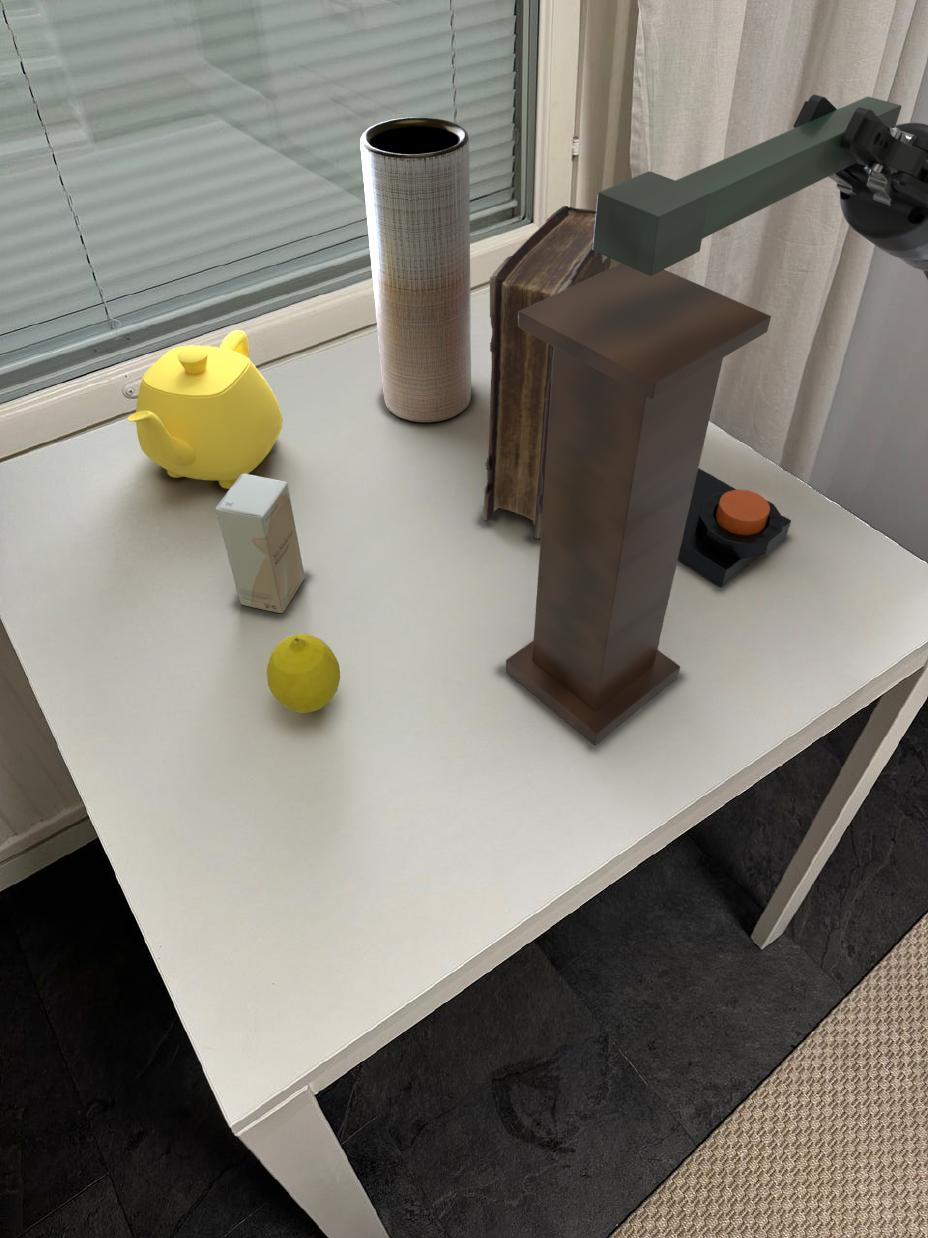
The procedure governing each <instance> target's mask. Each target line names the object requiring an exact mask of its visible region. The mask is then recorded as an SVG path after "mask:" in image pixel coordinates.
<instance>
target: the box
mask: <svg viewBox="0 0 928 1238" xmlns="http://www.w3.org/2000/svg"><path fill="white" fill-rule="evenodd" d="M289 490H290V489H289V484H288V482H287V481H283V480H280V479H279V480H278V479H274V478H269V477H265V476H259V475H253V474H250V473H248V474H242V475H241V476H240V477H239V478H238V480H237V481H236V482H235V483H234V485H233V486H232V487H231V488H230V489H228V491H227V492H226V493H225V495H224V496H223V498H222V499H221V500H220V501H219V503H218V505H217V506H216V507H215V512H216V515H217V520H218V524H219V527H220V532H221V535H222V539H223V543H224V546H225V550H226V554H227V558H228V562H229V565H230V570H231V573H232V577H233V581H234V584H235V588H236V592H237V596H238V600H239V603H240V605H243V606H247V607H250V608H254V609H259V610H263V611H268V612H269V611H270V612H272V613H279V614H282V613H283V614H284V612H285V611H286V609H287V608H288V606H289V605H290V603H291V601H292V600H293V598H294V597H295V595H296V593H297V591H298V590H299V588H300V587H301V585H302V583H303V582H304V580H305V577H306V575H305V571H304V566H303V561H302V555H301V547H300V543H299V538H298V533H297V528H296V523H295V516H294V512H293V506H292V501H291V495H290V491H289Z"/></svg>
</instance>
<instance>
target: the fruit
mask: <svg viewBox="0 0 928 1238" xmlns="http://www.w3.org/2000/svg"><path fill="white" fill-rule="evenodd" d="M340 679H341V671H340V664H339V661H338V658H337V656H336V655H335V653H334V652H333V650H332V649H331V647H330V646H329V645H328V644H327V643H325V642H324V641H323V640H322V639H320V638H318V637H317V636H315V635H310V634H307V633H297V634H296V633H295V634H292V635H289V636H287V637H285V638H283V639H282V640H281V641H280V642H278V643H277V645H276V646H275V647H274V649H273V650H272V652H271V653H270V656H269V659H268V663H267V667H266V680H267V686H268V688H269V690H270V692H271V694H272V696H273V698H275V700H276V701H277V702H278V703H279V704H280V705H282V706H283V707H285V708H286V709H288V710H289V711H292V712H296V713H300V714H308V713H312V712H316V711H319V710H320V709H322V708H324V707H326V706H327V705H328V704H329V703H330V702H331V701H332V700H333V698H334V696H335V694H336V693H337V691H338V689H339V686H340V681H341V680H340Z"/></svg>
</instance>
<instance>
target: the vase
mask: <svg viewBox="0 0 928 1238" xmlns="http://www.w3.org/2000/svg"><path fill="white" fill-rule="evenodd" d="M360 155H361V165H362V176H363V185H364V186H363V187H364V197H365V198H364V199H365V210H366V219H367V220H366V221H367V231H368V241H369V250H370V252H369V253H370V263H371V273H372V284H373V296H374V306H375V317H376V318H375V319H376V328H377V330H376V331H377V337H378V348H379V349H378V351H379V360H380V361H379V362H380V371H381V372H380V373H381V382H382V383H381V384H382V392H383V398H384V404H385V406H386V408H387V409H388V410H389V411H390V412H391V413H392V414H393V415H394V416H395V417H398V418H400V419H403V420H404V421H405V420H406V421H408V422H415V423H422V424H423V423H424V424H425V423H426V424H427V423H428V424H429V423H438V422H442V421H446V420H449V419H452V418H454V417H456V416H458V415H460V414H461V413H463V412H464V410H465V409H466V408H467V407H468V406H469V404H470V402H471V400H472V399H471V397H472V336H471V335H472V332H471V331H472V327H471V325H472V323H471V321H472V320H471V319H472V314H471V307H472V306H471V203H470V201H471V199H470V198H471V197H470V195H471V194H470V187H471V186H470V136H469V134H468V132H467V130H466V129H465V128H464V127H462V125H459V124H458V123H456V122H453V121H450V120H446V119H441V118H435V117H425V116H424V117H423V116H418V117H417V116H416V117H401V118H394V119H390V120H386V121H382V122H379V123H376V124H374V125H372V126H370V127H368V128H367V129H366V130H365V131H364V132H363V133H362V135H361V137H360Z"/></svg>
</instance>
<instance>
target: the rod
mask: <svg viewBox="0 0 928 1238" xmlns="http://www.w3.org/2000/svg"><path fill="white" fill-rule="evenodd" d="M858 107H862V108H866V109H869V110H872V111H873V112H874V113H875V115H876V116H877V117H878V118H879V119H880V120H881V121H882V122H883V123H884V124H885V125H886V127H891V128H892V127H895V126H896V125H897V122H898V119H899V117H900V113H901V110H902V104H898V103H895V102H892V101H891V102H890V101H886V100H883V99H879V98H875V97H872V96H865V97H863V98H861V99H858V100H856V101H853V102H852V103H849V104H847V105H845V106H842V107H839V108H837V110H835V111H833V112H831V113H828V114H826V115H824V116H822V117H819V118H817V119H815V120H812V121H810V122H808V123H806V124H803V125H801V126H799V127H797V128H794V127H793V128H792V129H790V130H788V131H785V132H783V133H781V134H779V135H776V136H774V137H771V138H769V139H767V140H765V141H762V142H760V143H758V144H755V145H754V146H751V147H749V148H747V149H744V150H742V151H740V152H737V153H735V154H733V155H731V156H728V157H726V158H724V159H722V160H719V161H717V162H714V163H713V164H709V165H708V166H706V167H703V168H701V169H698V170H696V171H694V172H692V173H688V174H687V175H685V176H682V177H680V178H678V179H676V180H675V179H672V178H670V177H667V176H664V175H662V174H658V173H656V172H654V171H651V170H648V171H646V172H644V173H641V174H639V175H636V176H634V177H631V178H628V179H626V180H625V181H622V182H620V183H617V184H615V185H613V186H610V187H607V188H606V189H603V190H601V191H598V192H597V195H596V196H597V197H596V208H595V210H596V218H595V229H594V240H593V251H595V252H597V253H600V254H602V255H604V256H606V257H609V258H610V260H613V261H615V262H618V263H619V264H621V263H622V264H624V265H627V266H629V267H631V268H633V269H636V270H638V271H640V272H642V273H645V274H647V275H649V276H652V275H654V274H656V273H658V272H660V271H662V270H667V269H668V268H670V267H672V266H674V265H675V264H677V263H680V262H681V261H684V260H685V259H688V258H690V257H691V256H694V255H695V254H697V253H699V252H700V251H701V246H702V241H703V239H705V238H708V237H710V236H711V235H714V234H716V233H717V232H719V231H721V230H723V229H725V228H727V227H730V226H731V225H734V224H736V223H737V222H740V221H742V220H743V219H745V218H747V217H749V216H751V215H753V214H756V213H758V212H759V211H762V210H764V209H766V208H768V207H770V206H772V205H774V204H776V203H778V202H780V201H782V200H784V199H786V198H788V197H790V196H793V195H794V194H796V193H798V192H800V191H802V190H805V189H806V188H808V187H810V186H812V185H814V184H816V183H819V182H820V181H822V180H824V179H826V178H829V177H828V176H831V175H833V174H835V173H837V172H839V171H841V170H843V169H845V168H847V167H849V166H851V165H853V164H855V163H857V162H856V161H855V160H854V159H853V158H852V157H851V156H850V155H848V154H847V153H846V152H845V151H844V150H843V149H842V148H841V147H840V143H841V139H842V137H843V135H844V132H845V130H846V128H847V126H848V124H849V122H850V120H851V118H852V116H853V114H854V112H855V110H856V109H857V108H858Z"/></svg>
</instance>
